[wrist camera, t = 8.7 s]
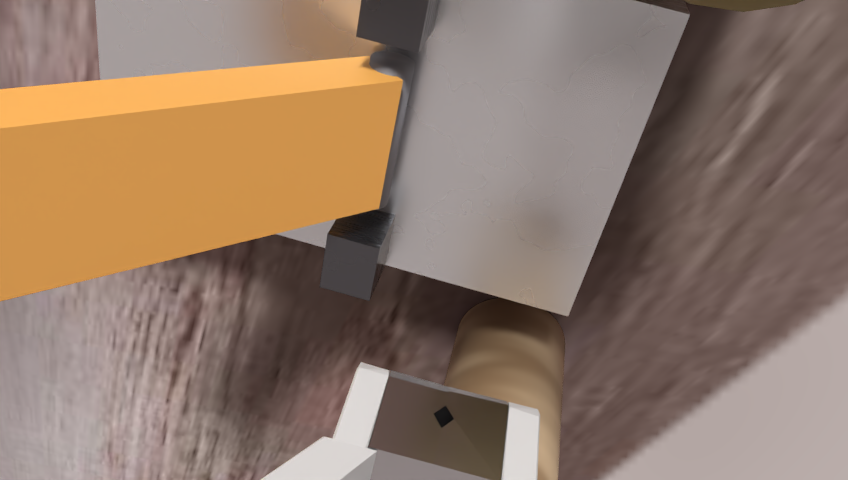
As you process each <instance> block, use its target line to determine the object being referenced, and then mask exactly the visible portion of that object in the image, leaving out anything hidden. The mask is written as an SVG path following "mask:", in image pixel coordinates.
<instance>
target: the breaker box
mask: <svg viewBox="0 0 848 480" xmlns="http://www.w3.org/2000/svg"><path fill="white" fill-rule="evenodd" d="M95 4H96V20H97V36H98V52H99V69H100V80H108V79H119V78H130V77H141V76H152V75H163V74H174V73H185V72H196V71H207V70H218V69H229V68H240V67H251V66H262V65H273V64H284V63H295V62H306V61H317V60H328V59H339V58H350V57H361V56H371V54H372V53H374V52H378V51H390V52H396V53H400V54H403V55H405V56H407V57H409V58H411V59H412V60H413V61H414V62H415V67H414V72H413V77H412V82H411V87H410V93H409V98H408V103H407V108H406V113H405V118H404V123H403V128H402V133H401V138H400V143H399V149H398V154H397V159H396V164H395V169H394V174H393V179H392V184H391V189H390V194H389V199H388V204H387V206H386V207H384V208H382V209H379V210H371V211H367V212H363V213H359V214H355V215H351V216H347V217H342V218H338V219H334V220H330V221H326V222H322V223H318V224H314V225H310V226H306V227H302V228H298V229H293V230H289V231H285V232H281V233H277V235H281V236H284V237H288V238H291V239H295V240H299V241H302V242H306V243H309V244H313V245H316V246H320V247H323V248H325V254H324V261H323V268H322V275H321V281H320V287H322V288H325V289H329V290H333V291H336V292H340V293H343V294H347V295H350V296H354V297H357V298H361V299H364V300H368V301H370V299H371V296H372V294H373V292H374V289H375V287H376V285H377V282H378V280H379V278H380V275H381V273H382V271H383V269H384V266H385V265H387V266H391V267H394V268H398V269H401V270H405V271H408V272H412V273H416V274H419V275H423V276H426V277H430V278H433V279H437V280H440V281H444V282H447V283H451V284H455V285H458V286H462V287H465V288H469V289H472V290H476V291H479V292H483V293H486V294H490V295H494V296H497V297H501V298H504V299H508V300H511V301H515V302H518V303H522V304H525V305H529V306H533V307H536V308H540V309H543V310H547V311H550V312H554V313H557V314H561V315H564V316H568V315H569V313H570V310H571V308H572V305H573V303H574V301H575V298H576V296H577V293H578V291H579V288H580V286H581V283H582V281H583V278H584V276H585V273H586V271H587V268H588V266H589V263H590V261H591V258H592V256H593V254H594V251H595V249H596V246H597V244H598V241H599V239H600V236H601V234H602V231H603V229H604V226H605V224H606V221H607V219H608V216H609V214H610V212H611V209H612V207H613V204H614V202H615V199H616V197H617V194H618V192H619V189H620V187H621V184H622V182H623V179H624V177H625V174H626V172H627V170H628V167H629V165H630V162H631V160H632V157H633V155H634V152H635V150H636V147H637V145H638V142H639V140H640V137H641V135H642V132H643V130H644V128H645V125H646V123H647V120H648V118H649V115H650V113H651V110H652V108H653V105H654V103H655V100H656V98H657V95H658V93H659V90H660V88H661V85H662V83H663V81H664V78H665V76H666V73H667V71H668V68H669V66H670V63H671V61H672V58H673V56H674V53H675V51H676V48H677V46H678V43H679V41H680V39H681V36H682V34H683V31H684V29H685V26H686V24H687V21H688V19H689V16H690V13H689V11H688V8H687V6H686V3H685V1H684V0H95Z"/></svg>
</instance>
